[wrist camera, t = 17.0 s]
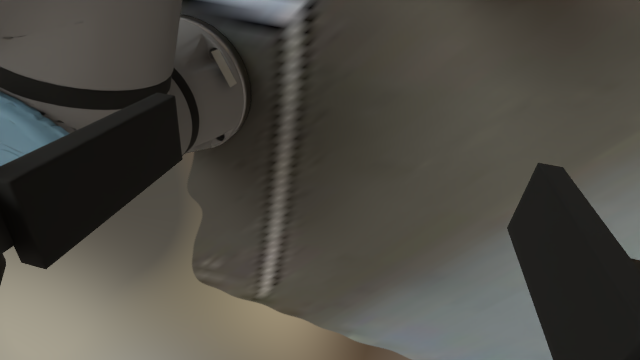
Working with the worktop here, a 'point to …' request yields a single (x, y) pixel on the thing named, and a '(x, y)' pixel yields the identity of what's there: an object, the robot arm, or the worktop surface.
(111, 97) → the robot arm
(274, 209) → the worktop surface
